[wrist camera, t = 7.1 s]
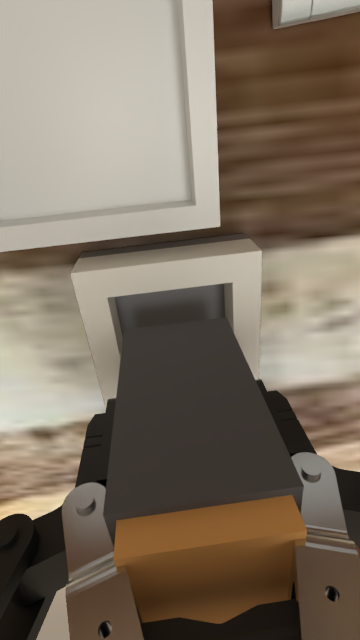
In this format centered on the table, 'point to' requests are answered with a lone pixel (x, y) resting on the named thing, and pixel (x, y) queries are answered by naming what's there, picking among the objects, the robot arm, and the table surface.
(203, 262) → the white compartment holder
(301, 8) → the hard drive
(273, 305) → the table surface
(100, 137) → the tray
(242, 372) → the dark grey orange block
